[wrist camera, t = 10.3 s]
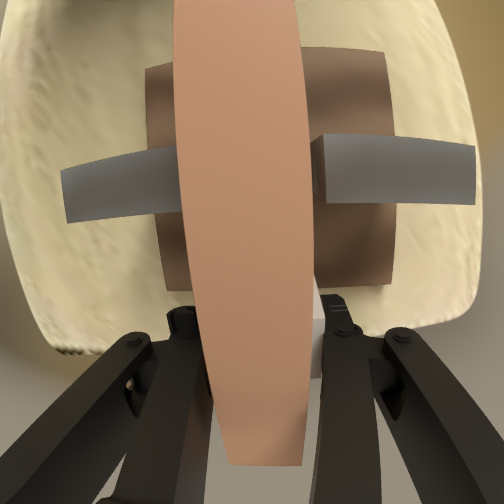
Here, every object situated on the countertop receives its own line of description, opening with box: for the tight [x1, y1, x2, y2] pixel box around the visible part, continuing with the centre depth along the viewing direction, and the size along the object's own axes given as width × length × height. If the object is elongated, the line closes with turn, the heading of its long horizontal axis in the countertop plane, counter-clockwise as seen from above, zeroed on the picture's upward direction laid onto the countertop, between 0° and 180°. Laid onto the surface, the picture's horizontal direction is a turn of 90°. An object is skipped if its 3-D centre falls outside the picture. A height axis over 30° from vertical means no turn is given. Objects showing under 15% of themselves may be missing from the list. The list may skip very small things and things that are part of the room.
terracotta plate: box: [173, 0, 314, 466], centre depth 11 cm, size 18×2×12 cm, turn 4°
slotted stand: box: [61, 47, 476, 291], centre depth 16 cm, size 20×20×14 cm
